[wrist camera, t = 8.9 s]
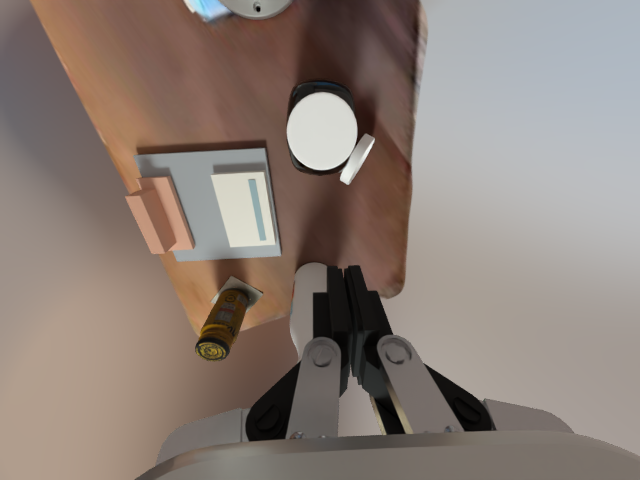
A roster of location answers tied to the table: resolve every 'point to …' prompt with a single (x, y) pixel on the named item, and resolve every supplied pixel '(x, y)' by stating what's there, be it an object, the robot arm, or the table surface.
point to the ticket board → (221, 201)
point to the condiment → (225, 319)
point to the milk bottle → (305, 302)
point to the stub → (160, 215)
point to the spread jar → (325, 130)
